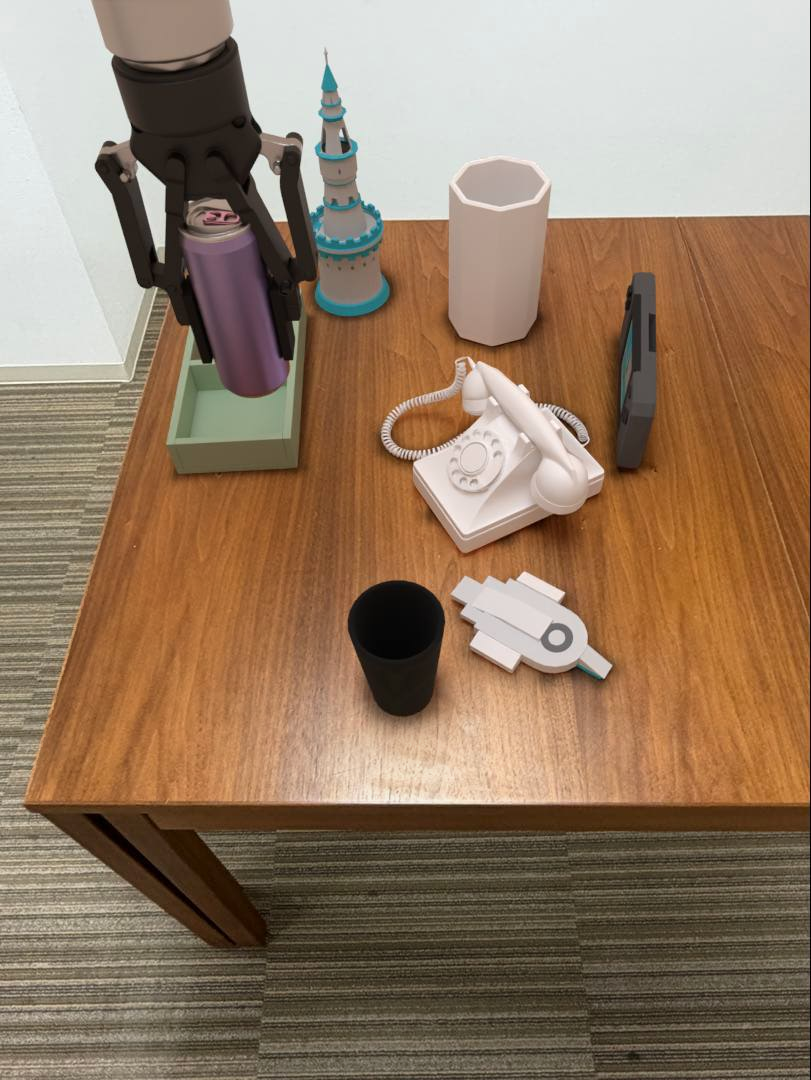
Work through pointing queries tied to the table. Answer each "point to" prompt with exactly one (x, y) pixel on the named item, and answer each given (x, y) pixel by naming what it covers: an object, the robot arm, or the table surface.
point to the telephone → (500, 461)
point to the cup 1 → (398, 643)
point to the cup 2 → (496, 247)
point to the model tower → (344, 220)
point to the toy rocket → (526, 626)
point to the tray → (235, 417)
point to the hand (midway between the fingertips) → (249, 350)
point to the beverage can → (233, 298)
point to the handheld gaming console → (637, 371)
